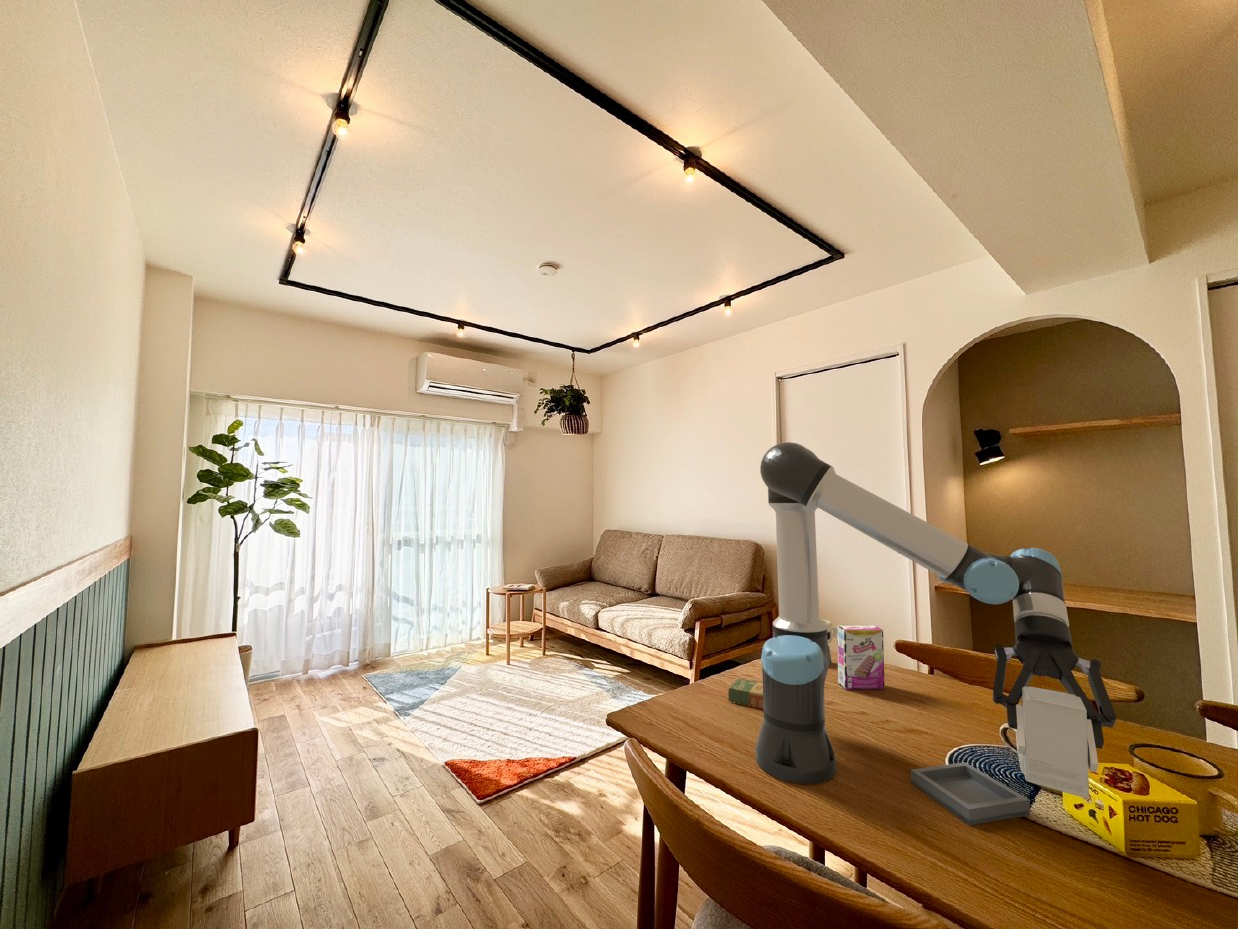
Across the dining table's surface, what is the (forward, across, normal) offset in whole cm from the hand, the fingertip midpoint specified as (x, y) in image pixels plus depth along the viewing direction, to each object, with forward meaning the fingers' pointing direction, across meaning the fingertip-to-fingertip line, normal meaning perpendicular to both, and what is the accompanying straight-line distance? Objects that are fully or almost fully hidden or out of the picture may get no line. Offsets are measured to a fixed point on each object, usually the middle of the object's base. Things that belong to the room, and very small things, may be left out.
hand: (1056, 758), depth 74 cm
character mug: (-38, +50, -60) cm, 87 cm away
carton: (-9, +54, -32) cm, 63 cm away
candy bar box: (-28, +35, -49) cm, 67 cm away
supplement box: (+1, 0, -6) cm, 6 cm away
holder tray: (+4, +11, -16) cm, 20 cm away
